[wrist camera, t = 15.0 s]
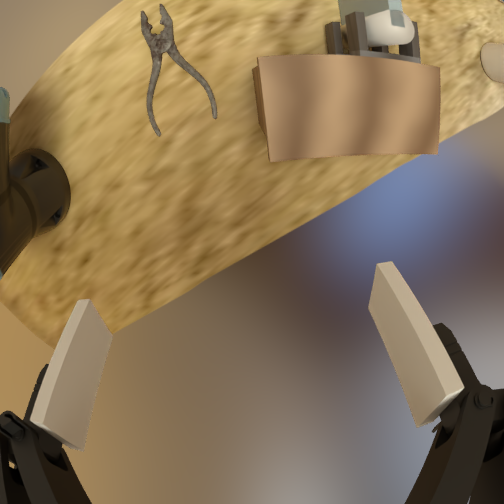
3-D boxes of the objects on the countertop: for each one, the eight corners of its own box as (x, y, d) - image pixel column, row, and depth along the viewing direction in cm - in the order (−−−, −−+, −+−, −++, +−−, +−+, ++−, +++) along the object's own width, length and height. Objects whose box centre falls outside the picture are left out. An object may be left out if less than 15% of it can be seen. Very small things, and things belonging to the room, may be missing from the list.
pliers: (163, 146, 38) (101, 37, 27) (164, 145, 39) (103, 38, 28) (224, 115, 36) (160, 0, 25) (224, 114, 37) (162, 1, 26)
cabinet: (255, 127, 38) (270, 162, 23) (242, 29, 29) (249, -4, 15) (377, 121, 37) (446, 154, 23) (371, 30, 29) (445, 19, 15)
